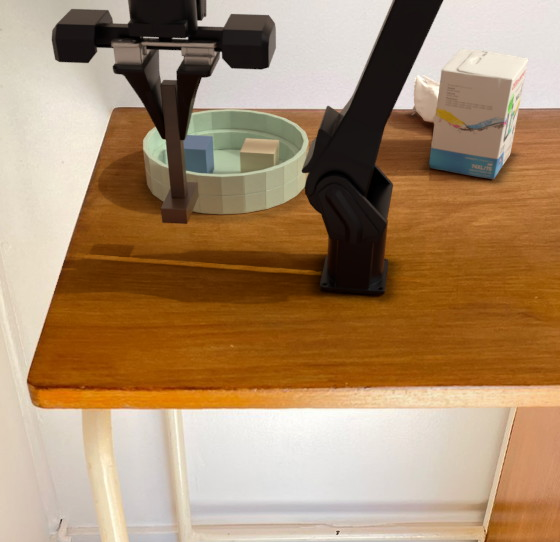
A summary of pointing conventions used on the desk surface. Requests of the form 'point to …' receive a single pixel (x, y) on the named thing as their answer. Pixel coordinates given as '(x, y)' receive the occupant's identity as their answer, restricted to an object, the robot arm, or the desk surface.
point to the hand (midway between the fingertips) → (174, 138)
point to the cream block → (258, 154)
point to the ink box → (477, 112)
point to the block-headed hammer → (175, 162)
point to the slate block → (199, 154)
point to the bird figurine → (426, 98)
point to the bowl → (235, 162)
